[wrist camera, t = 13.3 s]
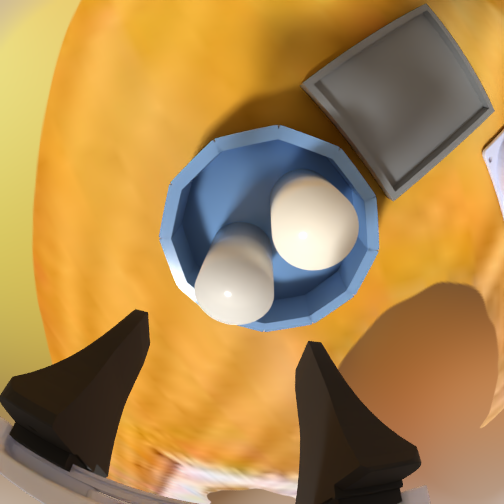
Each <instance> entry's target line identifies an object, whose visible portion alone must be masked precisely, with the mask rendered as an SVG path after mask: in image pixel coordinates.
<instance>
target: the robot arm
mask: <svg viewBox="0 0 504 504" xmlns="http://www.w3.org/2000/svg"><path fill="white" fill-rule="evenodd" d="M482 155H483V158H484V161H485V163H486V166H487V168H488V171H489V174H490V177H491V179H492V182H493V185H494V188H495V191H496V194H497V198H498V201H499V204H500V208H501V211H502V215H503V219H504V129H503V130H502V131H501V132H500V133H499V134H498V135H497V136H496V138H495V139H494V140H493V141H492V142H491V143H490V144H489V145H488V146H487V147H486V148H485V149H484V150H483V153H482ZM149 346H150V338H149V322H148V312H144V311H140V310H136V309H135V310H134V311H133V312H131V313H130V314H129V315H128V316H126V317H125V318H124V319H123V320H122V321H120V322H119V323H118V324H117V325H116V326H114V327H113V328H112V329H110V330H109V331H108V332H107V333H105V334H104V335H103V336H101V337H100V338H99V339H97V340H96V341H94V342H93V343H92V344H90V345H89V346H87V347H86V348H84V349H82V350H81V351H79V352H77V353H76V354H74V355H72V356H70V357H68V358H66V359H64V360H62V361H60V362H58V363H56V364H53V365H51V366H48V367H46V368H43V369H40V370H37V371H34V372H31V373H27V374H23V375H18V376H14V377H12V378H11V380H10V381H9V383H8V384H7V386H6V387H5V389H4V390H3V392H2V393H1V395H0V402H1V404H2V406H3V407H4V408H5V410H6V411H7V412H8V413H9V415H10V416H11V417H12V418H13V419H14V420H15V422H16V423H15V424H14V426H12V425H11V424H10V423H9V422H7V421H6V420H5V419H3V418H2V417H0V474H1V475H3V476H4V477H5V478H7V479H8V480H9V481H10V482H12V483H13V484H14V485H16V486H17V487H19V488H20V489H21V490H23V491H24V492H26V493H27V494H29V495H30V496H32V497H33V498H35V499H37V500H38V501H39V502H41V503H43V504H124V503H122V502H119V501H117V500H115V499H112V498H110V497H108V496H111V497H114V498H117V499H119V500H122V501H125V502H128V503H131V504H197V503H191V502H186V501H181V500H176V499H172V498H168V497H164V496H160V495H156V494H152V493H149V492H145V491H142V490H138V489H135V488H132V487H129V486H126V485H123V484H120V483H117V482H115V481H112V480H109V479H107V478H106V477H108V472H109V466H110V460H111V454H112V450H113V445H114V441H115V437H116V433H117V429H118V425H119V422H120V418H121V415H122V412H123V409H124V406H125V403H126V401H127V398H128V396H129V394H130V392H131V389H132V387H133V385H134V383H135V381H136V379H137V377H138V375H139V372H140V370H141V368H142V366H143V364H144V361H145V358H146V355H147V352H148V349H149ZM295 391H296V400H297V409H298V418H299V426H300V464H299V478H298V488H297V496H296V503H295V504H431V502H430V498H429V493H428V489H427V486H426V485H424V486H420V487H417V488H414V489H410V490H407V491H404V492H402V493H401V492H400V488H401V487H403V483H402V479H404V478H405V477H407V476H409V475H410V474H412V473H413V472H415V471H416V470H417V469H418V468H419V467H420V466H421V460H420V456H419V453H418V450H417V447H416V446H414V445H413V444H411V443H409V442H408V441H406V440H405V439H403V438H402V437H400V436H399V435H397V434H396V433H395V432H393V431H392V430H391V429H389V428H388V427H387V426H386V425H385V424H383V423H382V422H381V421H380V420H379V419H378V418H377V417H376V416H375V415H374V414H372V412H370V410H369V409H368V408H367V407H366V406H365V405H364V404H363V403H362V402H361V401H360V400H359V398H358V397H357V396H356V395H355V393H354V392H353V391H352V389H351V388H350V387H349V385H348V384H347V383H346V381H345V380H344V378H343V377H342V375H341V374H340V372H339V371H338V369H337V368H336V366H335V364H334V363H333V361H332V360H331V358H330V356H329V355H328V353H327V351H326V350H325V348H324V346H323V345H322V343H321V342H312V341H308V343H307V345H306V348H305V350H304V352H303V355H302V357H301V359H300V361H299V364H298V366H297V368H296V375H295ZM99 492H101V493H103V494H106V495H108V496H105V495H103V494H101V493H99Z"/></svg>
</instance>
